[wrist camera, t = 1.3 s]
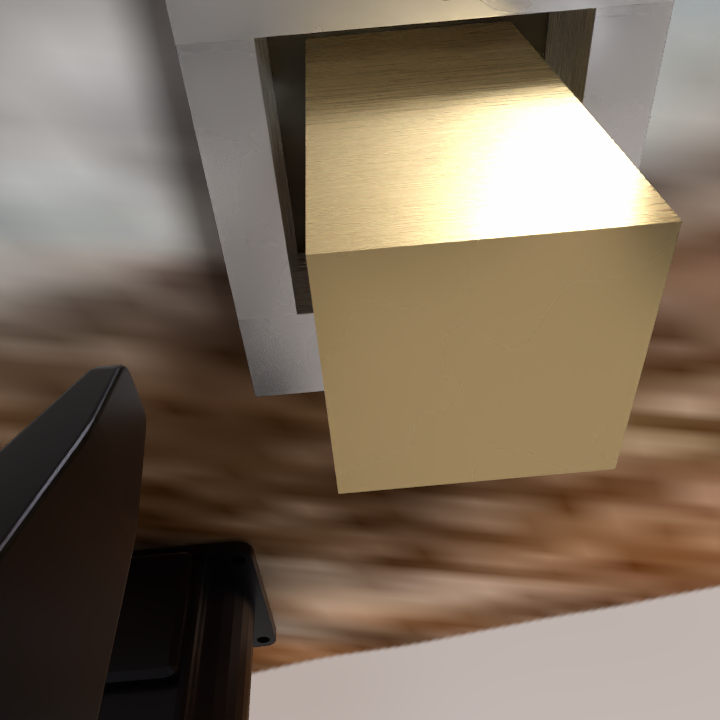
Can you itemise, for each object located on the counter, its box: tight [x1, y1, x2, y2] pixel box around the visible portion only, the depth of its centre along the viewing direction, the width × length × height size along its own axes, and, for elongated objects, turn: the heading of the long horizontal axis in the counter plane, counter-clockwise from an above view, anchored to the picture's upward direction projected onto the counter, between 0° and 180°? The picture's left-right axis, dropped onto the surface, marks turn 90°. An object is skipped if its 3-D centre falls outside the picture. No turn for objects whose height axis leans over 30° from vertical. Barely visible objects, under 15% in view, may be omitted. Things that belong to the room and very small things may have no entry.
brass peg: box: [306, 20, 682, 494], centre depth 12 cm, size 4×4×8 cm
